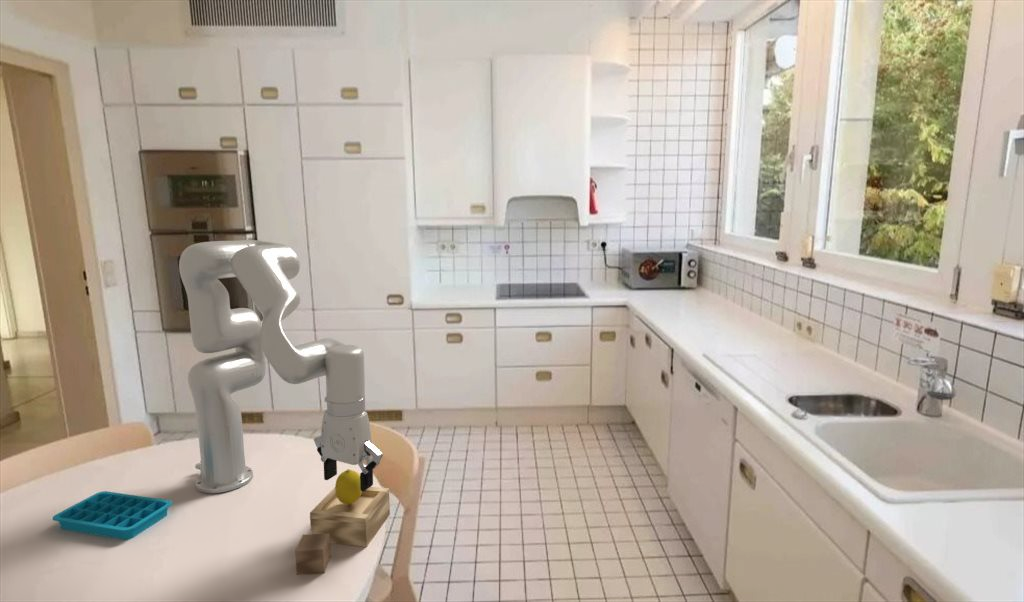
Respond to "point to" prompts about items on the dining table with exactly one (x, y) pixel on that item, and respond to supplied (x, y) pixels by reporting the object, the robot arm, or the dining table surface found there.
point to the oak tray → (351, 517)
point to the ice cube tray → (113, 514)
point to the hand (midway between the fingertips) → (348, 482)
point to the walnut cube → (313, 554)
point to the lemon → (348, 487)
